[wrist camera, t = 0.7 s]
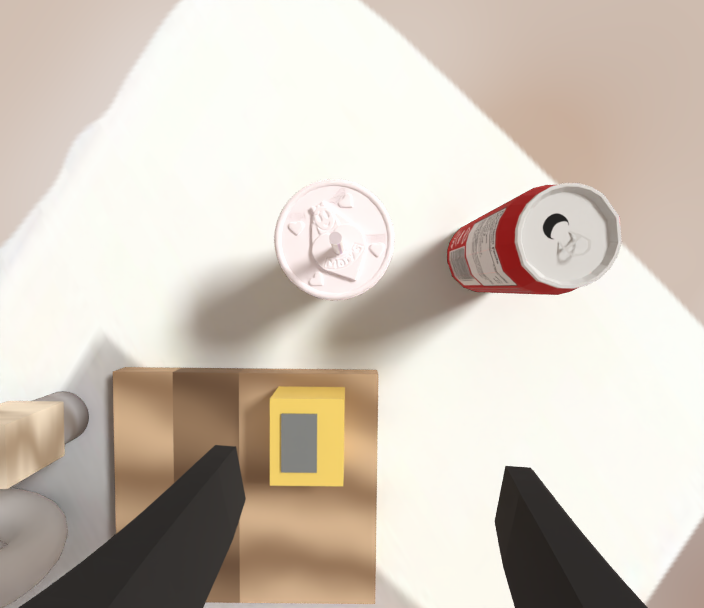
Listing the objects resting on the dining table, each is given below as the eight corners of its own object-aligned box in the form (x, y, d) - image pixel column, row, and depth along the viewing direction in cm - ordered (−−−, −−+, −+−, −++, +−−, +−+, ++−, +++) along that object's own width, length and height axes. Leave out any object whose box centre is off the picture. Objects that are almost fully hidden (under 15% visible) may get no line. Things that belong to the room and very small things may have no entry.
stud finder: (344, 464, 28) (343, 487, 25) (278, 464, 28) (269, 486, 25) (344, 387, 28) (344, 399, 24) (278, 386, 28) (269, 399, 24)
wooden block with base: (89, 440, 29) (6, 489, 22) (39, 440, 29) (-59, 488, 22) (88, 391, 29) (4, 424, 22) (37, 391, 29) (-62, 424, 22)
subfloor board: (373, 588, 30) (375, 603, 28) (129, 585, 30) (117, 601, 28) (376, 369, 29) (378, 374, 28) (125, 367, 29) (112, 371, 28)
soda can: (529, 258, 29) (658, 237, 17) (478, 306, 29) (570, 320, 17) (481, 206, 28) (576, 148, 16) (430, 256, 29) (487, 233, 17)
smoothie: (322, 310, 29) (295, 332, 15) (284, 237, 29) (220, 189, 15) (395, 273, 29) (436, 260, 15) (357, 200, 28) (363, 115, 14)
